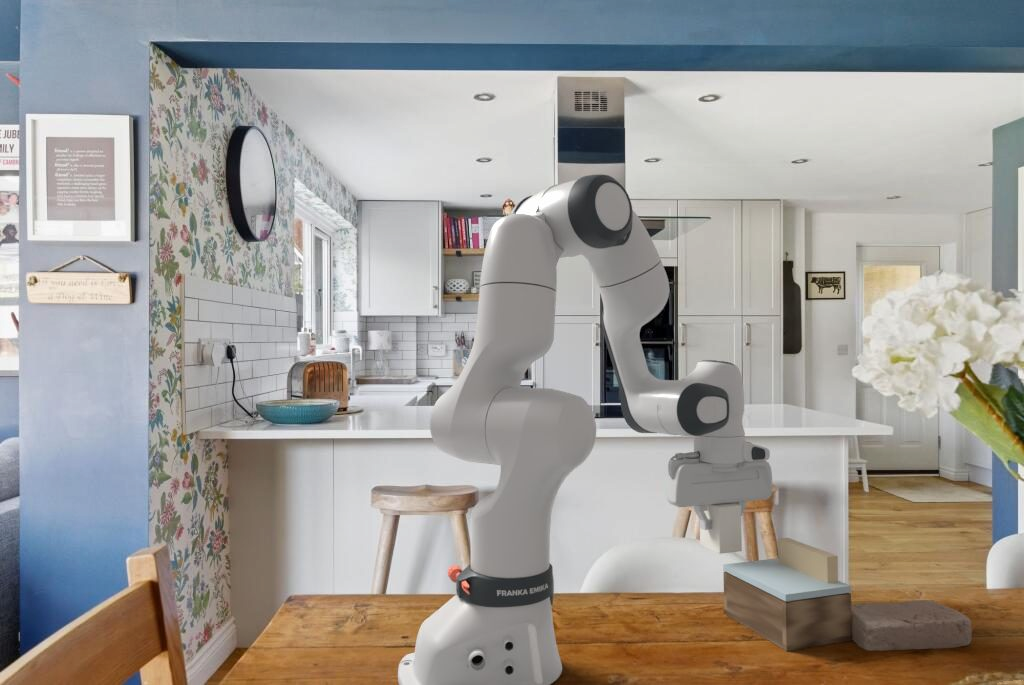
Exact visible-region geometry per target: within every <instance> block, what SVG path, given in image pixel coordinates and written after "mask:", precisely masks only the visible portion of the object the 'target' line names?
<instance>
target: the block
mask: <svg viewBox="0 0 1024 685" xmlns="http://www.w3.org/2000/svg"><path fill="white" fill-rule="evenodd" d="M704 512H705V514H706V516H707V518H709V519H711V520H712V529H709V530H703V529H701V528H700V527H699V545H701V546H703V547H705V548H707V549H709V550H711V551H713V552H716V553H718V554H720V555H722V554H728V553H729V554H730V553H738V552H743V548H742V545H743V543H742V540H743V539H742V533H743V532H742V516H741V505H738V504H735V503H722V504H711V505H707V511H704Z"/></svg>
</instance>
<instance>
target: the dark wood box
mask: <svg viewBox="0 0 1024 685" xmlns="http://www.w3.org/2000/svg"><path fill="white" fill-rule="evenodd" d="M851 605H852V594H851V592H850V593H843V594H836V595H829V596H822V597H815V598H808V599H801V600H793V601H784V600H782V599H780V598H778V597H776V596H774V595H772V594H770V593H768V592H766V591H764V590H762V589H760V588H758V587H755V586H753V585H751V584H749V583H747V582H745V581H743V580H741V579H739V578H737V577H735V576H733V575H731V574H729V573H727V572H725V571H723V614H724V615H725V614H726V615H725V616H728V618H730V619H732V620H733V621H735V622H737V623H739V624H741V625H742V626H744V627H745V628H747V629H749V630H750V631H751V632H753V633H756V634H757V635H759V636H761V637H762V638H763V639H765V640H767V641H769V642H770V643H772V644H774V645H776V646H777V647H779V648H780V649H782V650H784V651H785V652H789V651H796V650H802V649H807V648H813V647H819V646H826V645H832V644H837V643H843V642H849V641H853V640H852V627H851Z"/></svg>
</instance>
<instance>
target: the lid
mask: <svg viewBox="0 0 1024 685" xmlns="http://www.w3.org/2000/svg"><path fill="white" fill-rule="evenodd" d="M777 546H778V547H777V549H778V550H777V552H778V558H770V559H769V558H767V559H759V560H752V561H751V560H750V561H743V562H733V563H725V564H723V572H727V573H729V574H731V575H733V576H735V577H737V578H739V579H741V580H743V581H745V582H747V583H749V584H751V585H753V586H755V587H758V588H760V589H762V590H764V591H766V592H768V593H770V594H772V595H774V596H776V597H778V598H780V599H782V600H784V601H793V600H801V599H808V598H815V597H822V596H829V595H836V594H843V593H850V594H851V592H852V588H851V587H852V586H851V585H850V584H848V583H846V582H843V581H841V580H839V569H838V568H839V566H838V565H839V563H838V560H839V558H838V555H836V554H834V553H831V552H828V551H825V550H822V549H820V548H817V547H814V546H811V545H808V544H806V543H803V542H801V541H799V540H798V541H797V540H795V539H792V538H789V537H782V538H781V537H780V538H778V540H777Z"/></svg>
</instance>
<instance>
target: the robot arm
mask: <svg viewBox="0 0 1024 685" xmlns="http://www.w3.org/2000/svg"><path fill="white" fill-rule="evenodd" d="M483 253H484V254H483V259H482V265H481V271H480V272H481V273H480V278H479V279H480V280H479V281H480V282H479V292H478V293H479V294H478V304H477V317H476V325H475V332H474V339H473V343H472V347H471V350H470V353H469V356H468V358H467V360H466V363H465V365H464V367H463V369H462V371H461V372H460V374H459V376H458V377H457V379H456V380H455V382H454V383H453V384H452V385H451V387H450V388H449V389H447V390H446V391H445V392H444V393H443V394H441V396H439V397H438V399H437V400H436V402H434V403H435V404H434V405H433V408H432V410H431V413H430V416H429V431H430V435H431V439H432V441H433V443H434V445H435V446H436V448H438V450H440V451H441V452H443V453H445V454H446V455H448V456H451V457H454V458H456V459H458V460H459V459H460V460H462V461H465V462H469V463H478V464H486V465H487V464H488V465H493V466H494V465H496V466H500V475H499V480H498V483H497V486H496V489H495V490H494V491H493V492H491V493H489V494H488V495H485V496H484V497H483V498H481V499H480V500H479V501H477V503H476V504H475V506H474V507H473V508H472V511H471V514H470V539H469V540H470V563H469V565H468V566H466V567H465V568H464V569H463V570H462V568H461V566H459V565H458V564H452V565H451V566H449V568H448V569H447V577H449V579H450V581H451V582H452V583H455V586H456V588H455V590H456V594H455V595H453V597H451V598H450V599H449V600H448V601H446V603H445V604H443V605H442V606H441V607H440V608H438V609H437V610H436V611H435V612H434V613H432V614H431V615H430V616H429V617H427V618H426V619H425V620H424V621H423V622H422V623H421V625H420V627H419V630H418V631H417V632H418V633H417V635H416V641H415V647H414V652H411V653H407V654H405V655H404V656H403V657H402V659H401V660H400V662H399V664H398V669H397V682H398V685H551V684H553V683H554V682H556V681H557V680H558V679H559V677H560V676H561V674H562V672H563V665H562V661H561V657H560V653H559V651H558V645H557V642H556V635H555V628H554V621H553V613H552V612H553V611H552V606H553V604H554V594H555V593H554V592H555V585H554V584H555V580H554V573H553V572H554V571H553V565H552V563H550V562H551V561H550V559H551V557H550V554H551V553H550V550H551V548H550V545H551V544H550V542H551V541H550V540H551V526H552V525H551V524H552V522H551V521H552V514H553V513H552V512H553V507H554V503H555V499H556V497H557V495H558V494H559V493H558V492H559V490H560V488H561V487H562V485H563V483H564V482H565V480H566V479H567V477H568V476H569V475H571V473H572V472H573V471H574V470H575V469H577V468H578V467H580V466H581V465H582V464H583V463H584V462H585V461H586V460H587V458H588V457H589V456H590V454H591V452H592V451H593V448H594V446H595V443H596V437H597V421H596V418H595V415H594V412H593V410H592V409H591V407H590V405H589V404H588V402H587V401H586V400H585V398H584V397H582V396H579V395H576V394H573V393H570V392H566V391H561V390H559V389H553V388H546V387H545V388H542V387H521V384H522V380H523V377H524V376H525V373H526V372H527V370H528V369H529V368H530V366H531V365H532V364H533V363H535V362H536V361H537V360H539V359H540V358H543V357H544V356H545V355H546V354H547V353H549V351H550V349H551V348H552V345H553V342H554V339H555V322H556V319H555V318H556V305H557V303H556V302H557V282H558V280H557V277H558V276H557V275H558V274H557V272H558V271H557V270H558V269H557V267H558V262H559V260H560V259H561V258H566V257H567V258H569V257H570V258H572V257H573V258H574V257H576V256H581V255H582V256H583V257H584V258H585V259H586V260H587V261H588V264H589V266H590V269H591V272H592V276H593V278H594V281H595V283H596V285H597V288H598V291H599V293H600V298H601V300H602V306H603V310H602V313H601V326H602V331H603V337H604V339H605V340H604V341H605V345H606V347H607V350H608V351H607V352H608V355H609V358H610V361H611V364H612V368H613V371H614V374H615V378H616V382H617V384H618V385H617V386H618V389H619V390H618V392H619V399H620V407H621V413H622V417H623V419H624V420H625V423H626V424H627V425H628V426H629V427H630V428H631V429H632V430H633V431H635V432H637V433H641V434H664V435H671V436H680V437H693V451H689V452H685V453H684V452H678V453H677V452H676V453H675V454H674V455H673V456H672V457H671V458H670V459H669V460H668V463H667V467H668V468H667V474H668V475H667V482H666V500H667V501H668V503H669V504H670V505H672V506H675V507H677V508H687V507H693V510H694V513H696V516H697V518H698V519H699V529H700V528H701V529H703V530H709V529H712V520H711V519H709V518H707V516H706V514H705V512H704V511H707V505H711V504H722V503H735V504H738V505H741V517H742V516H743V514H744V512H745V511H746V508H747V502H751V501H752V502H753V501H754V502H755V501H763V500H764V501H765V500H769V498H771V496H772V494H773V473H772V467H771V464H770V463H769V462H768V460H770V455H771V451H770V449H769V448H767V447H764V446H761V445H757V444H754V443H752V442H749V441H746V440H745V439H746V438H745V437H746V433H745V428H744V426H743V418H744V414H745V392H744V384H743V378H742V377H743V376H742V373H741V370H740V368H739V367H738V366H737V365H736V364H734V363H732V362H728V361H724V360H715V359H714V360H713V359H711V360H710V359H708V360H707V359H706V360H701V361H698V362H697V363H696V365H695V368H694V369H693V370H692V371H691V372H690V373H689V374H687V375H686V376H684V377H682V378H680V379H674V380H673V379H671V380H670V379H659V378H657V377H655V376H654V375H653V374H652V373H651V372H650V370H649V367H648V364H647V360H646V357H645V353H644V349H643V346H642V342H641V338H640V332H641V329H642V327H643V326H645V325H646V324H648V323H650V322H651V321H652V320H653V319H654V318H656V317H657V316H658V315H659V314H660V313H661V312H662V310H663V309H664V307H665V306H666V304H667V302H668V299H669V296H670V292H671V291H670V282H669V278H668V275H667V272H666V270H665V267H664V265H663V262H662V260H661V257H660V255H659V252H658V250H657V248H656V245H655V244H654V242H653V240H652V237H651V235H650V234H649V232H648V230H647V228H646V227H645V225H644V223H643V222H642V220H641V219H640V218H639V216H638V214H637V213H636V212H635V211H634V210H633V205H632V201H631V199H630V196H629V194H628V192H627V190H626V189H625V188H624V186H623V185H622V184H621V183H620V182H619V181H618V180H617V179H615V178H614V177H612V176H610V175H608V174H590V175H584V176H581V177H580V178H578V179H575V180H570V181H567V182H563V183H559V184H558V183H557V184H554V185H552V186H549V187H547V188H544V189H542V190H540V191H538V192H537V193H535V194H533V195H529V196H526V197H524V198H523V199H522V200H521V201H519V202H518V203H517V204H516V205H515V206H513V208H512V210H511V211H510V212H509V213H508V214H507V215H505V216H503V217H501V218H499V219H497V221H495V222H494V223H493V225H492V227H490V231H489V233H488V237H487V241H486V245H485V249H484V252H483Z"/></svg>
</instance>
